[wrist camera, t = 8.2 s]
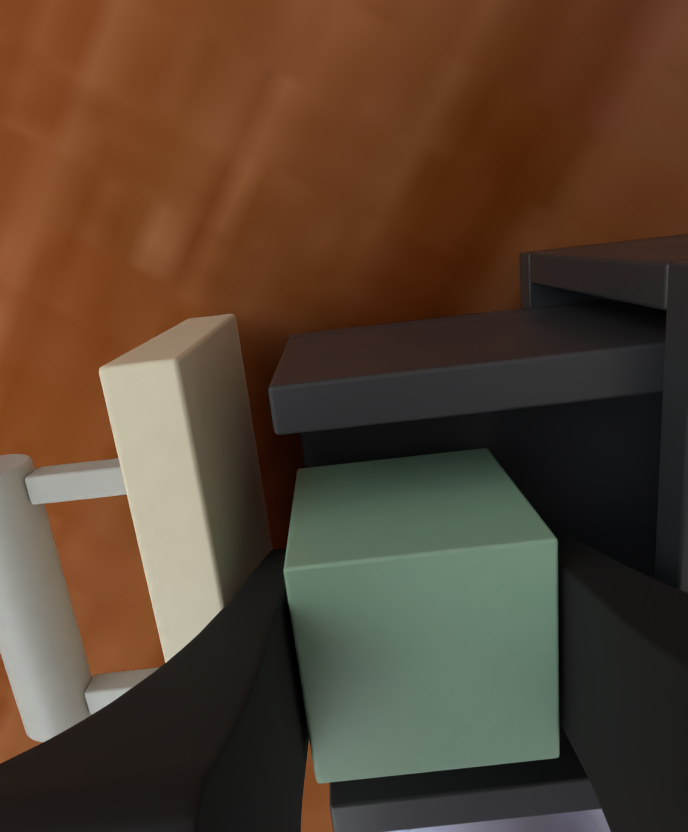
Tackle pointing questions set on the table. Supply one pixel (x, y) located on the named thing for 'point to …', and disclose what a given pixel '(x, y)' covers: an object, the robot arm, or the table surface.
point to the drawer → (330, 445)
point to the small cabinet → (683, 364)
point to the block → (422, 616)
